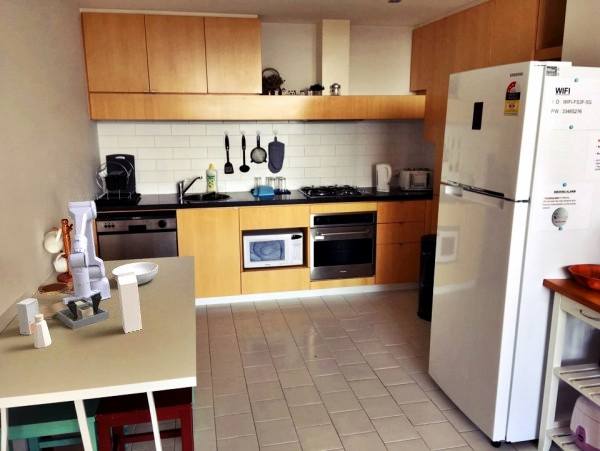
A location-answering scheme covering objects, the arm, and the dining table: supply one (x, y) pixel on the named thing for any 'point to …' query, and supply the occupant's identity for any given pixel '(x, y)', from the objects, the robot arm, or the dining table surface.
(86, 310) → the birch block
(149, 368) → the dining table surface
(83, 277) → the robot arm
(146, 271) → the serving bowl
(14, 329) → the dining table surface
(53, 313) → the walnut board
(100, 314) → the bin
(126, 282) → the milk
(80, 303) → the sage block
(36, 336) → the pepper shaker
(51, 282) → the dining table surface
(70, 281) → the apple
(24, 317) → the skincare box
